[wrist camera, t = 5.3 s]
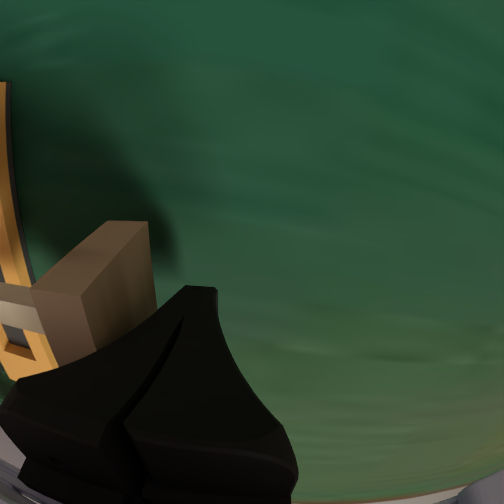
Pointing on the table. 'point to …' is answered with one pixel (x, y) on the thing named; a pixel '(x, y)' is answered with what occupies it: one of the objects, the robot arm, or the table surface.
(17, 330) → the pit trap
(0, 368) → the tunnel
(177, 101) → the table surface
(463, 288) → the table surface
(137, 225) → the sled
